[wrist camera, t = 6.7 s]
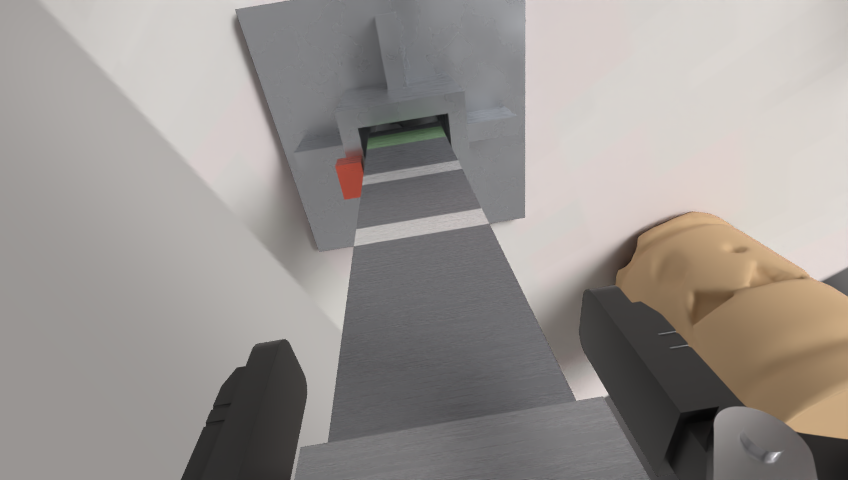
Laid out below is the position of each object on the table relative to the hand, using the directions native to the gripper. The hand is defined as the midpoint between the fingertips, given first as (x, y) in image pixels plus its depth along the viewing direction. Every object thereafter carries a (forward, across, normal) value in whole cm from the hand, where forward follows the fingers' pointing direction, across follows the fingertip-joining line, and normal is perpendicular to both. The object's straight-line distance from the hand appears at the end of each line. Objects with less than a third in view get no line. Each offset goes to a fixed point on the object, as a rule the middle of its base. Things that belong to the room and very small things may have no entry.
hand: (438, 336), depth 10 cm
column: (+14, 0, 0) cm, 14 cm away
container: (+22, -24, +18) cm, 37 cm away
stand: (+22, 0, 0) cm, 22 cm away
